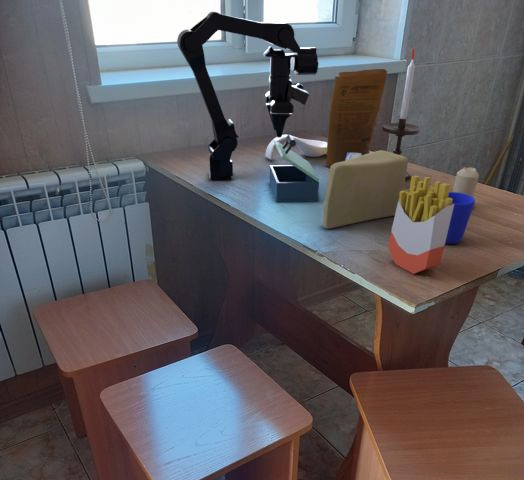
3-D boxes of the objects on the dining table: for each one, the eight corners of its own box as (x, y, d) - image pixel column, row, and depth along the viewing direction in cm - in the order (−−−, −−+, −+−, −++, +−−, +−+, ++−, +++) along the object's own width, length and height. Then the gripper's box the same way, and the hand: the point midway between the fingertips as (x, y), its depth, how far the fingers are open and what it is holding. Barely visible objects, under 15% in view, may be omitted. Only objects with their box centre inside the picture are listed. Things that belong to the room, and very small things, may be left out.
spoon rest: (320, 149, 185) (322, 128, 181) (337, 157, 177) (339, 135, 172) (261, 155, 177) (261, 133, 173) (275, 164, 169) (276, 141, 164)
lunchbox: (276, 202, 139) (276, 183, 136) (269, 183, 152) (269, 165, 149) (317, 201, 140) (319, 182, 137) (307, 182, 153) (308, 164, 150)
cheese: (337, 235, 121) (344, 171, 112) (310, 222, 127) (315, 160, 119) (400, 216, 132) (410, 156, 123) (372, 205, 138) (380, 147, 130)
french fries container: (421, 279, 103) (441, 191, 93) (385, 259, 111) (399, 175, 100) (437, 274, 105) (458, 187, 95) (400, 254, 113) (416, 172, 102)
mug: (407, 233, 123) (415, 192, 117) (456, 232, 124) (466, 191, 118) (418, 247, 116) (427, 204, 110) (470, 246, 117) (481, 203, 111)
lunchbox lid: (281, 157, 132) (291, 141, 130) (273, 141, 146) (282, 126, 143) (318, 181, 137) (328, 166, 135) (307, 164, 150) (317, 150, 148)
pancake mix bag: (379, 165, 169) (393, 69, 153) (327, 170, 164) (335, 71, 148) (369, 160, 175) (382, 66, 158) (318, 164, 169) (326, 68, 153)
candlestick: (389, 183, 154) (411, 49, 134) (369, 173, 162) (386, 45, 142) (418, 179, 158) (443, 48, 137) (397, 169, 166) (418, 44, 145)
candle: (460, 210, 136) (469, 172, 130) (445, 204, 140) (453, 166, 134) (475, 207, 138) (485, 169, 132) (460, 201, 142) (469, 164, 136)
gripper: (313, 80, 137) (309, 141, 146) (303, 71, 152) (299, 127, 161) (272, 79, 136) (270, 141, 145) (266, 70, 151) (264, 126, 160)
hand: (277, 133), depth 153 cm, fingers open, 9 cm apart
